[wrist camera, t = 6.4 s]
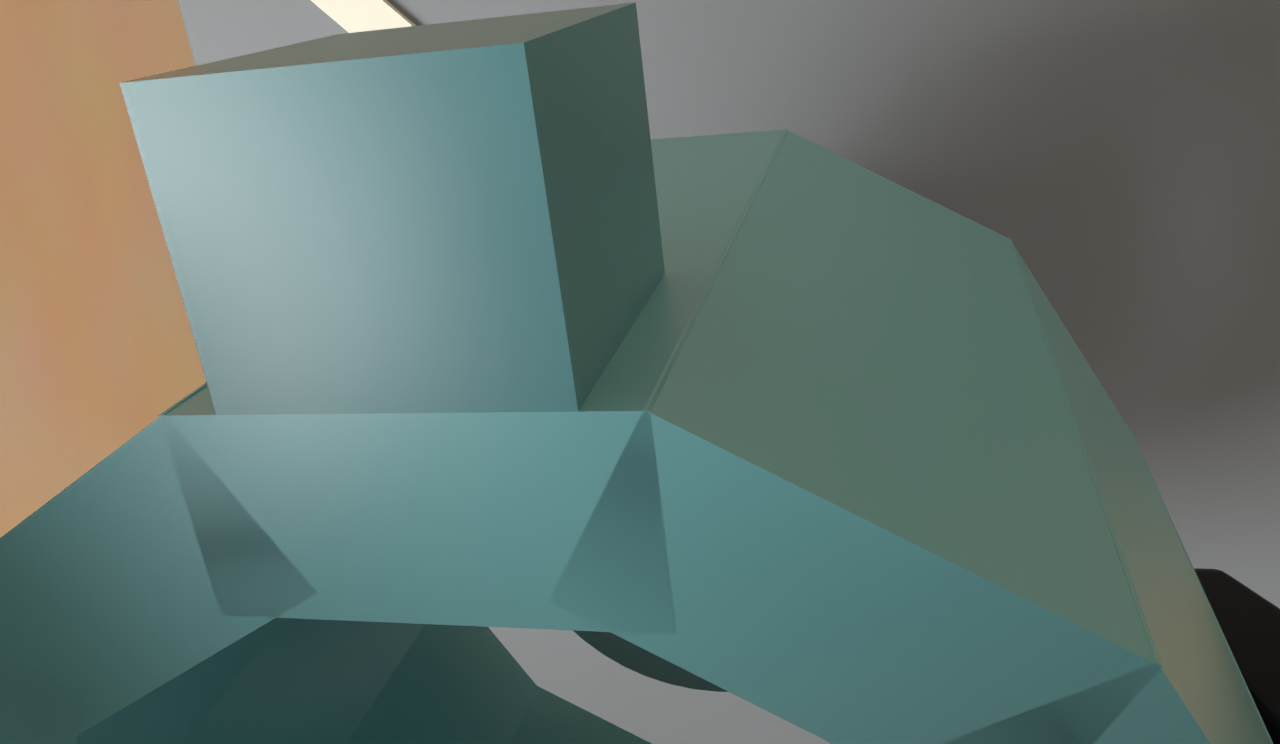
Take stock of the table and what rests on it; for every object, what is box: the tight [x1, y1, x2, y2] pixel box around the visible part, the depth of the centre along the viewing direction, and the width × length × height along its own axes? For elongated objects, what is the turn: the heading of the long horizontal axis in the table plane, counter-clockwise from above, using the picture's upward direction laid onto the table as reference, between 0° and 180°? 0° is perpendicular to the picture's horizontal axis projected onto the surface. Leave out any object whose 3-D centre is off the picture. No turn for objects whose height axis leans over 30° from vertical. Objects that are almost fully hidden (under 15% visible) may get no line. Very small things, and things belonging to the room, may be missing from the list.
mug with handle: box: [0, 2, 1273, 744], centre depth 7 cm, size 8×7×5 cm
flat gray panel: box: [178, 0, 1280, 744], centre depth 12 cm, size 14×14×6 cm
